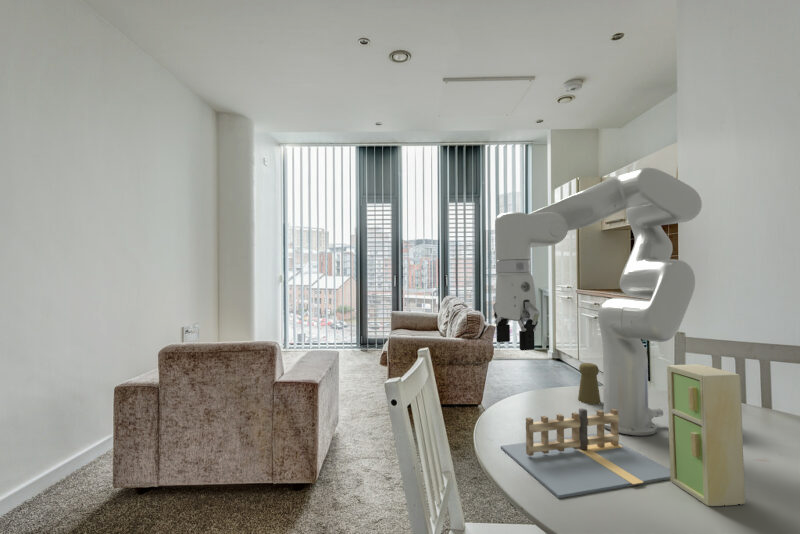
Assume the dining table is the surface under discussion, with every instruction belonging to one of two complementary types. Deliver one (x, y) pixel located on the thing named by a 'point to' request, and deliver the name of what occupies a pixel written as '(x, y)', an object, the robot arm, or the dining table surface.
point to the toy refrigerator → (706, 433)
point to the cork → (589, 384)
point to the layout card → (588, 468)
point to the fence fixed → (598, 428)
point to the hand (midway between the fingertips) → (514, 345)
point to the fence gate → (549, 425)
